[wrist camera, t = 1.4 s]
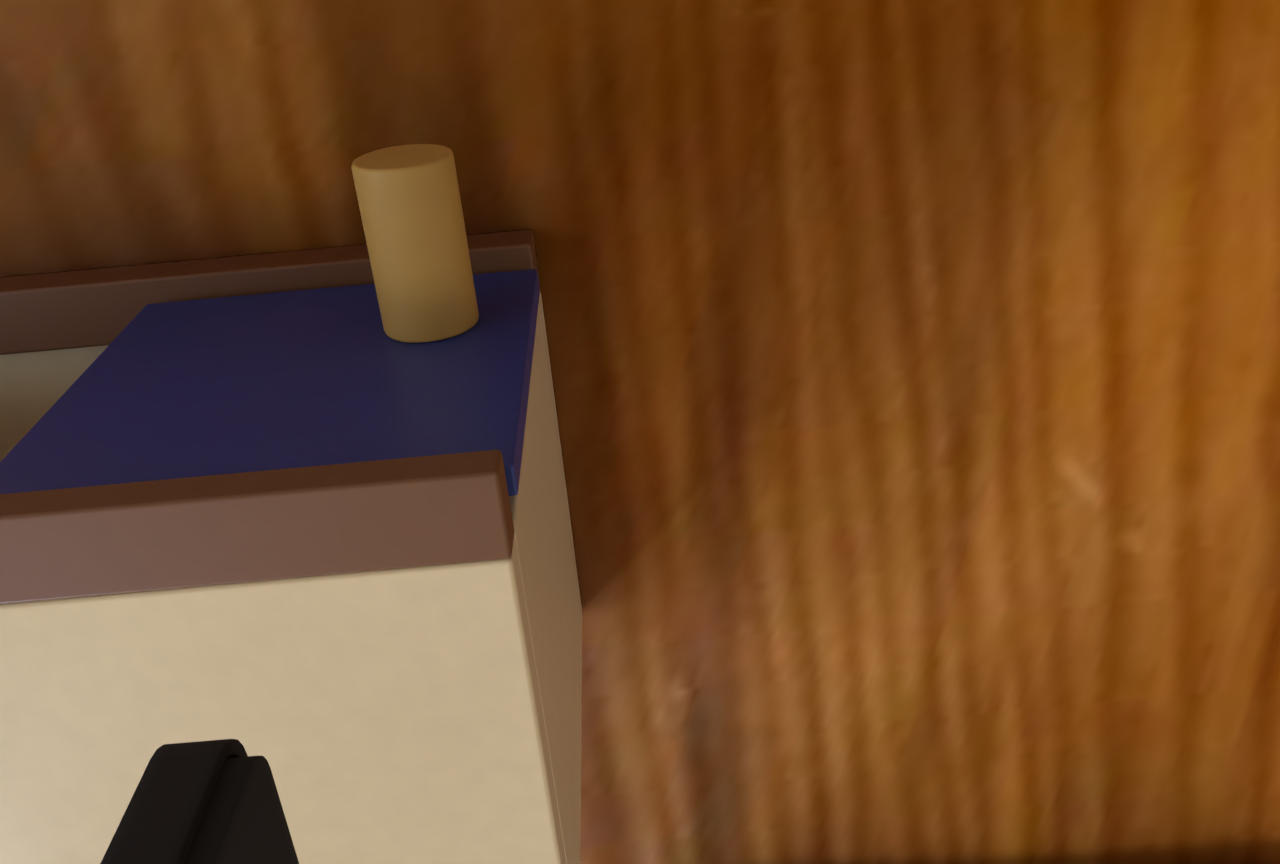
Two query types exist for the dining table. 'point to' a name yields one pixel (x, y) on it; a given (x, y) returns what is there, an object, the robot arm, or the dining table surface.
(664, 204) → the dining table surface
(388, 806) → the box with blue drawer
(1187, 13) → the dining table surface
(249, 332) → the sliding door
